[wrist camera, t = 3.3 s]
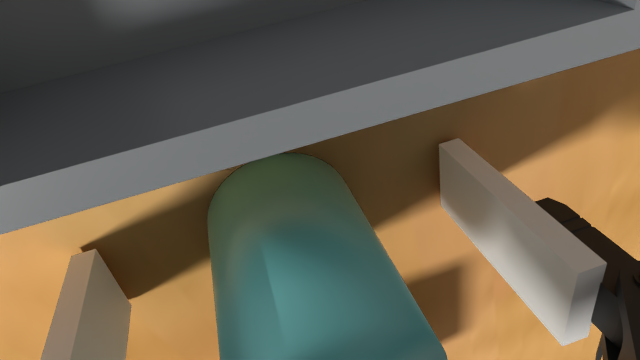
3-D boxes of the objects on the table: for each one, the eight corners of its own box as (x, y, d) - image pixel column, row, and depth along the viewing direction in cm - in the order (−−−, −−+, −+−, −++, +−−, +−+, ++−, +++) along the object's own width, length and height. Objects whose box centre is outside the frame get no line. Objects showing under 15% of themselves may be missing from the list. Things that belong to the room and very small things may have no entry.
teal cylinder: (236, 134, 13) (281, 310, 8) (374, 173, 16) (488, 334, 10) (188, 260, 15) (195, 475, 10) (316, 280, 18) (384, 465, 12)
